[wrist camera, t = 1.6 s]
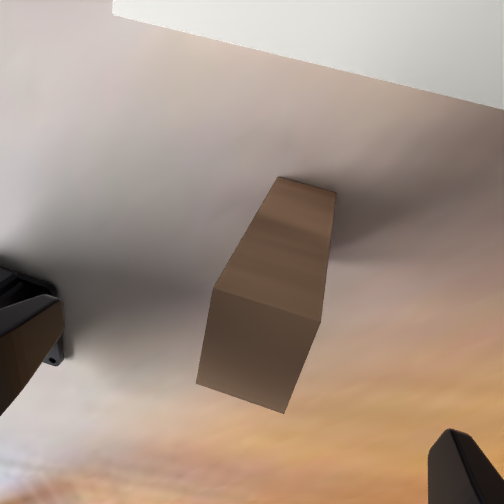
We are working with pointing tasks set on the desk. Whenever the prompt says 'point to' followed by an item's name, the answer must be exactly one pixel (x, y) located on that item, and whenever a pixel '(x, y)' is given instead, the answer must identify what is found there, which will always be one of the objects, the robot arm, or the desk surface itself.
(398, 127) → the desk surface
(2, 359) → the robot arm
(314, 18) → the block
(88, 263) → the desk surface
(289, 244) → the walnut peg
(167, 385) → the desk surface
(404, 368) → the desk surface
